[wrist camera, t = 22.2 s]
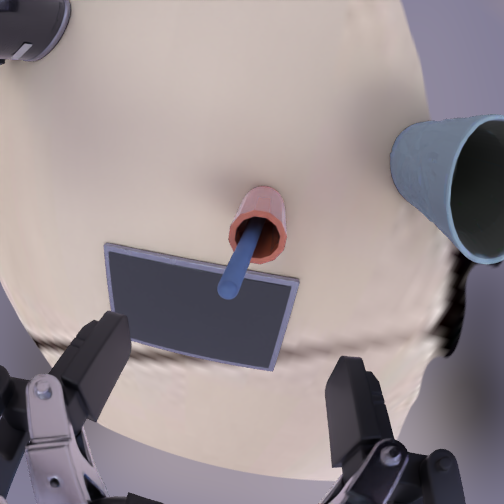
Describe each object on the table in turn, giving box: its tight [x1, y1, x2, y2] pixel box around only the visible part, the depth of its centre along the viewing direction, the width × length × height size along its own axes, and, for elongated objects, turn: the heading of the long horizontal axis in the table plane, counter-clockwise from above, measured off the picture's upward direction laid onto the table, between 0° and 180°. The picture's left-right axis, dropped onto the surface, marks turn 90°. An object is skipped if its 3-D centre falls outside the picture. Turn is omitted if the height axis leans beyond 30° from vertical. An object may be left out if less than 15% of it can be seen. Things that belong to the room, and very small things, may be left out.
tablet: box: [104, 243, 299, 371], centre depth 33 cm, size 22×14×1 cm, turn 81°
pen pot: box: [229, 186, 287, 264], centre depth 23 cm, size 4×4×8 cm
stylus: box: [217, 216, 266, 300], centre depth 21 cm, size 1×1×13 cm
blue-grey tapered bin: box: [390, 114, 504, 264], centre depth 18 cm, size 10×10×12 cm
